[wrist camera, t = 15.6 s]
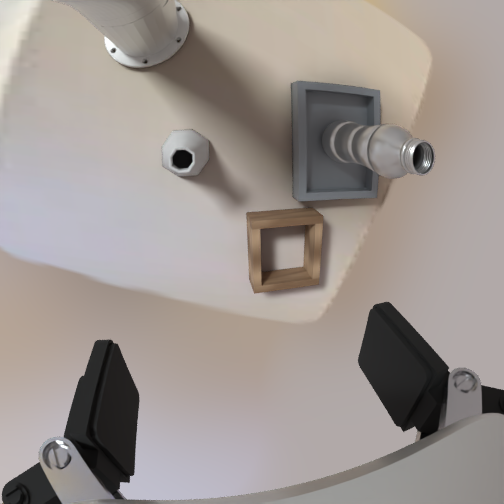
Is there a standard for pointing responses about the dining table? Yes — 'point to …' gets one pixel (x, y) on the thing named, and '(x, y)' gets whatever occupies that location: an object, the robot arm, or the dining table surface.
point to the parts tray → (310, 140)
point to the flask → (185, 152)
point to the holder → (311, 249)
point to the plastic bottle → (378, 148)
